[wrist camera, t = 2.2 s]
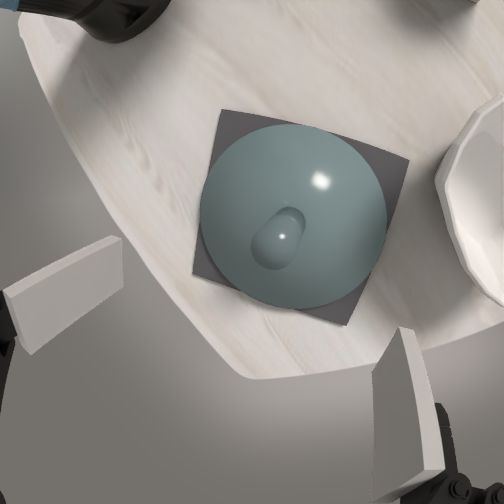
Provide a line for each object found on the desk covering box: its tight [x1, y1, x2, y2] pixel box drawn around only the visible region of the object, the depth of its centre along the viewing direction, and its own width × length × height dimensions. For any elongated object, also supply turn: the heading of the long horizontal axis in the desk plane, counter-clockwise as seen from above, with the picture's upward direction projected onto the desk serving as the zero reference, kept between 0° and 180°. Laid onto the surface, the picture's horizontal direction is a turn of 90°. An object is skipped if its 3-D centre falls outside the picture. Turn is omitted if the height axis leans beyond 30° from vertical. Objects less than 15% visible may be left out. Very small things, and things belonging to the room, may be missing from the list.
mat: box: [193, 109, 409, 326], centre depth 29 cm, size 20×20×1 cm
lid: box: [200, 124, 387, 309], centre depth 25 cm, size 20×20×9 cm
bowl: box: [434, 93, 504, 307], centre depth 17 cm, size 18×18×9 cm
